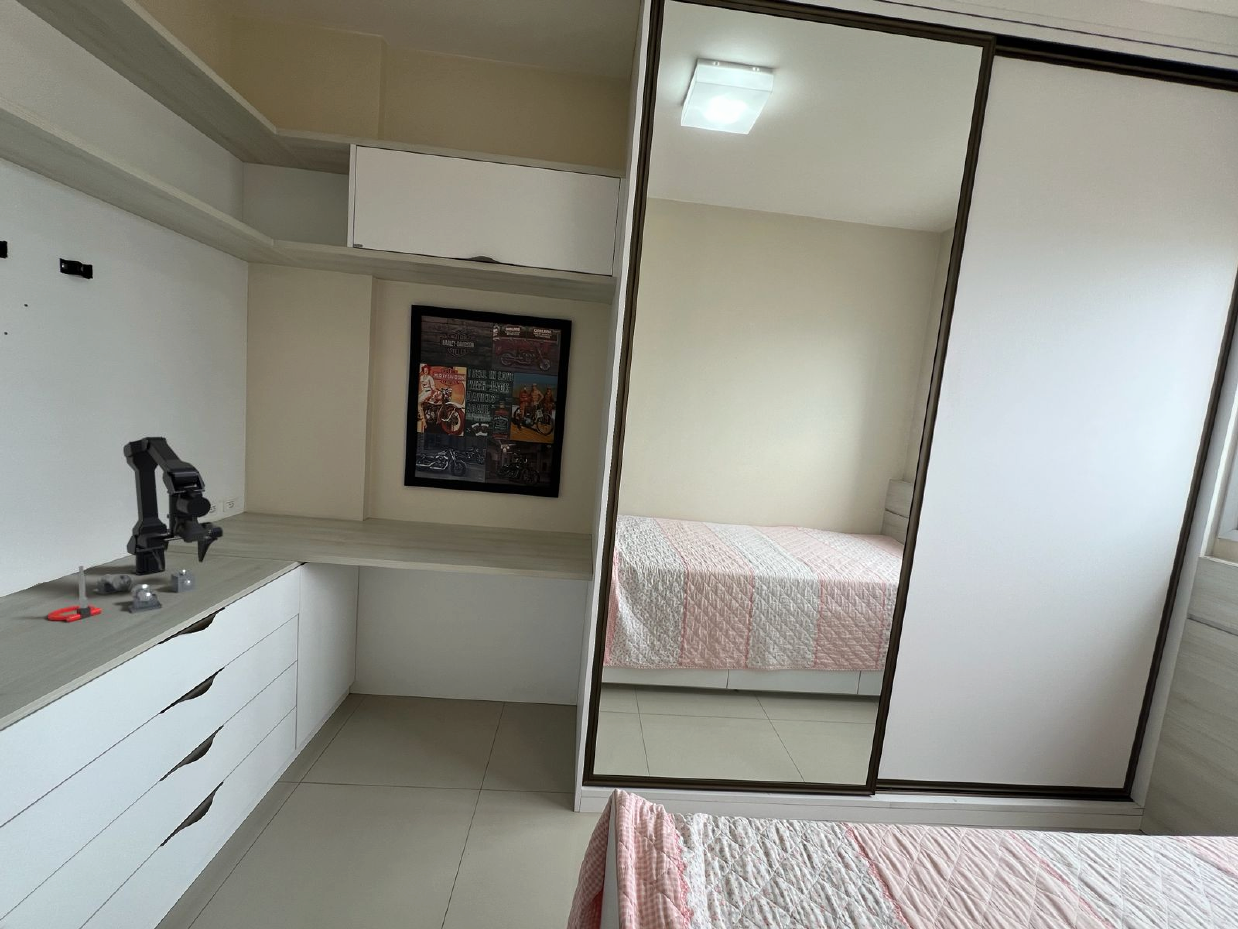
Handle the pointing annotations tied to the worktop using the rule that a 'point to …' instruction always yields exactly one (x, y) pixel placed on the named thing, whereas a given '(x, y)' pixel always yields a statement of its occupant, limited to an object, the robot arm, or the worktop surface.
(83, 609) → the tow hook
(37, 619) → the worktop surface
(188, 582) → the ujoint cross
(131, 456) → the robot arm
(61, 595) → the worktop surface
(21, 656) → the worktop surface
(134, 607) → the shaft right
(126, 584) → the shaft left
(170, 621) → the worktop surface
